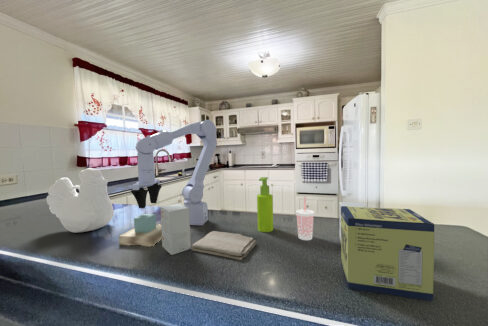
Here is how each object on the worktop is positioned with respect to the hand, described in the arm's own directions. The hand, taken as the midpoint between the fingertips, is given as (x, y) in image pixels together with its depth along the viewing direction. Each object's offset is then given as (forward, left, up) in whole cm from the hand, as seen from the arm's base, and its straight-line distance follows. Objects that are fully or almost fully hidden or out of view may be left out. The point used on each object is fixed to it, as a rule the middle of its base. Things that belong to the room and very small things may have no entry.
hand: (148, 205), depth 82 cm
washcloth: (-32, +10, -11) cm, 36 cm away
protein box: (-72, +23, -10) cm, 76 cm away
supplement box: (-72, +4, -10) cm, 73 cm away
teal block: (-3, +7, -7) cm, 10 cm away
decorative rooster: (+30, -1, -10) cm, 32 cm away
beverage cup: (-58, 0, -10) cm, 59 cm away
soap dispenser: (-44, -6, -10) cm, 46 cm away
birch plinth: (-3, +6, -10) cm, 12 cm away
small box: (-17, +12, -10) cm, 24 cm away
